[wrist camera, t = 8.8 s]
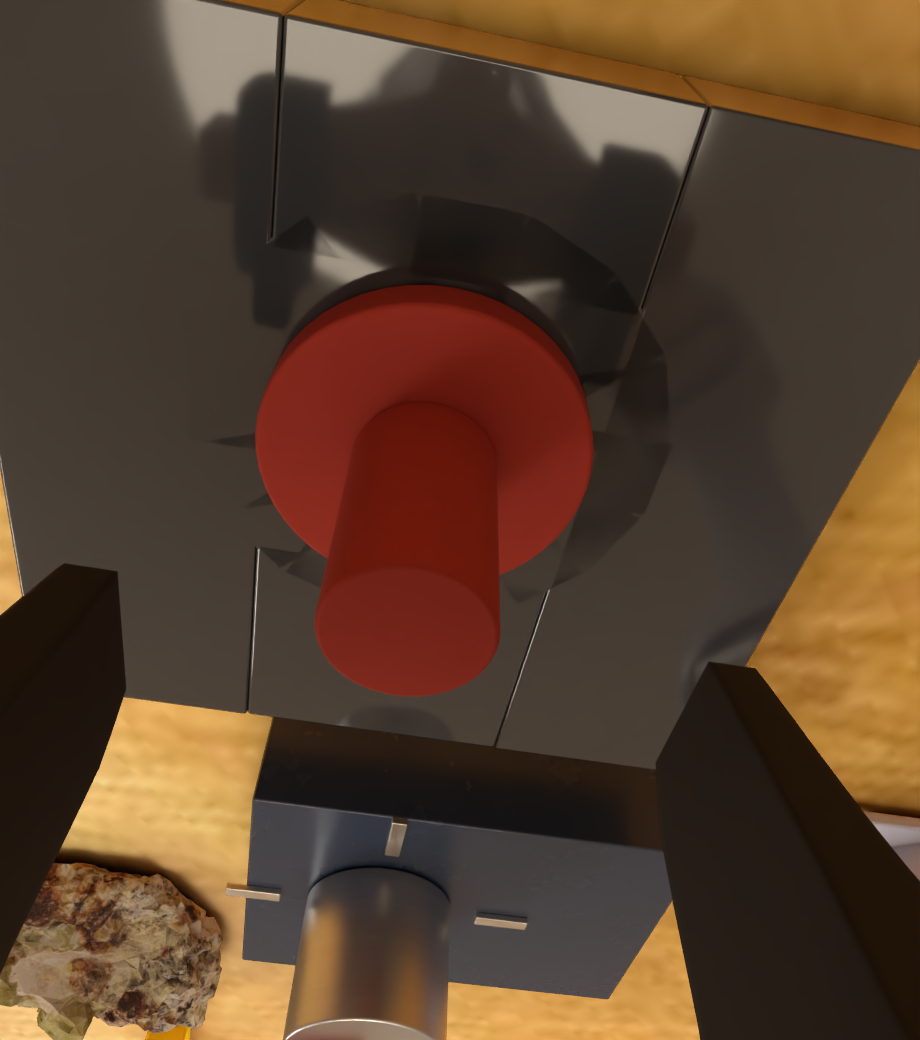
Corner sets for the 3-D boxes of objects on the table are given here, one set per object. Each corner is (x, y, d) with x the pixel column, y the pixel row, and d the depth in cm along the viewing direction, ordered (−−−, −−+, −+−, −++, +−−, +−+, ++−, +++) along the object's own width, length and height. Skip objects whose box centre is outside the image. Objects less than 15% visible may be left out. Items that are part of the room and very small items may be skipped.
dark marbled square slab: (957, 134, 14) (1026, 173, 12) (668, 703, 22) (684, 774, 20) (-12, -77, 12) (-95, -68, 10) (73, 617, 21) (35, 686, 19)
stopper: (617, 274, 15) (692, 497, 10) (539, 526, 18) (563, 792, 13) (293, 212, 14) (182, 412, 9) (275, 483, 18) (187, 743, 12)
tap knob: (462, 876, 22) (459, 1044, 19) (437, 947, 24) (430, 1108, 21) (312, 858, 21) (284, 1026, 18) (302, 932, 24) (274, 1094, 20)
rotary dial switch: (679, 755, 23) (703, 862, 21) (597, 904, 28) (609, 1005, 26) (257, 697, 22) (229, 802, 20) (247, 862, 27) (223, 964, 24)
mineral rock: (261, 964, 26) (161, 1123, 28) (277, 857, 30) (188, 1005, 33) (-103, 850, 23) (-180, 1037, 26) (-32, 749, 27) (-105, 919, 30)
